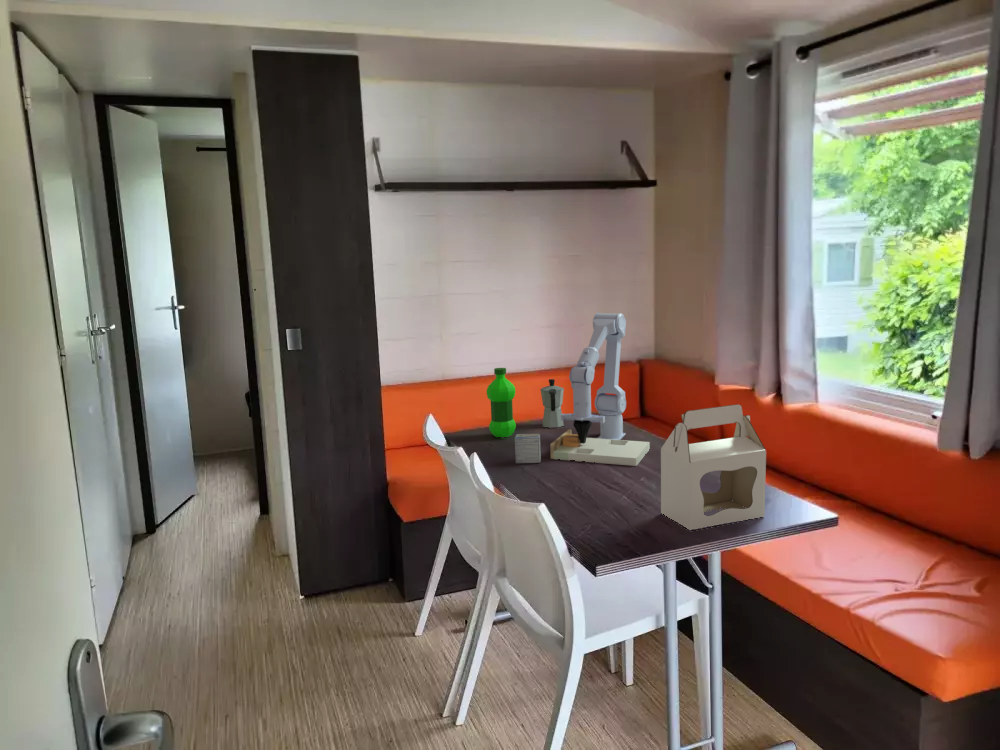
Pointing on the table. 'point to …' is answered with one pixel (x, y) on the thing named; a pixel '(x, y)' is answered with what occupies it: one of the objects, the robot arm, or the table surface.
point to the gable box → (730, 455)
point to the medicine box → (527, 448)
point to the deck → (601, 451)
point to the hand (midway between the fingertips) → (583, 442)
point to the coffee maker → (552, 404)
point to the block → (571, 440)
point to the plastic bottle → (501, 405)
